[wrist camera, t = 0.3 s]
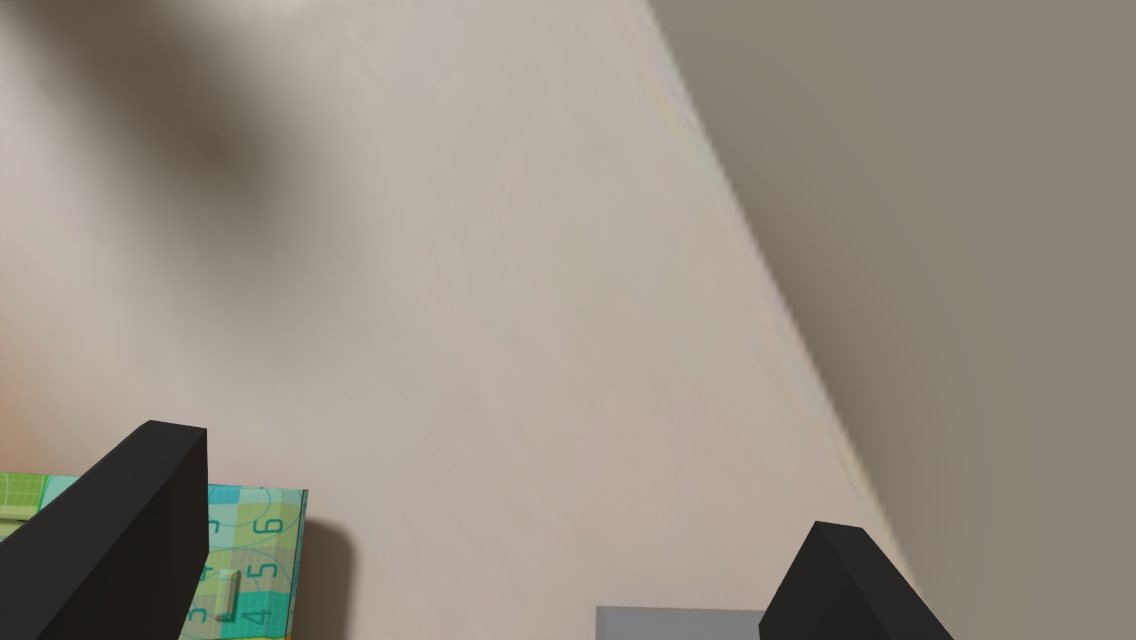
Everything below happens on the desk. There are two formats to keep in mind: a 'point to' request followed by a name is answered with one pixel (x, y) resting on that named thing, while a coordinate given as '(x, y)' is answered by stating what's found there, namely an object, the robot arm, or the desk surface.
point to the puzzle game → (213, 554)
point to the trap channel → (676, 624)
